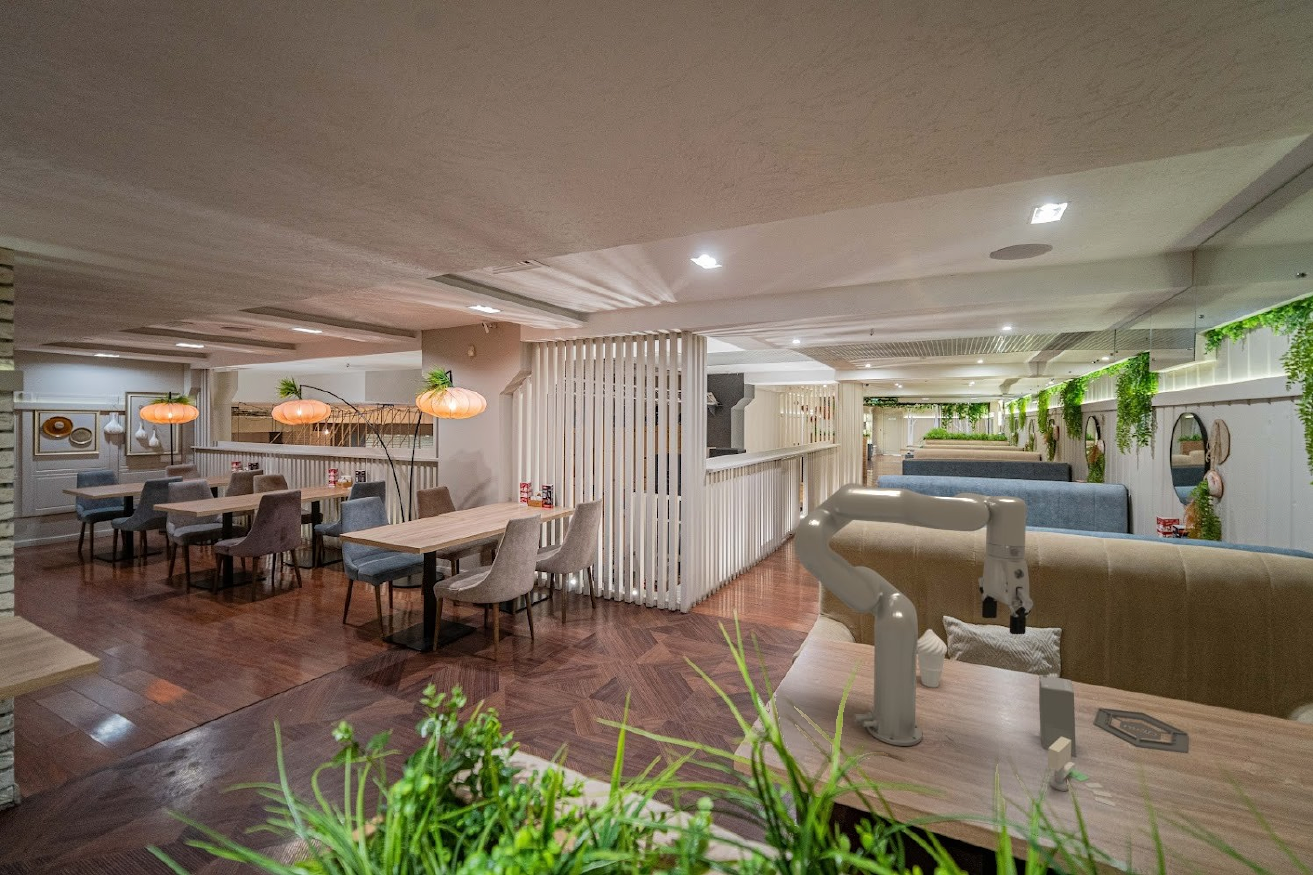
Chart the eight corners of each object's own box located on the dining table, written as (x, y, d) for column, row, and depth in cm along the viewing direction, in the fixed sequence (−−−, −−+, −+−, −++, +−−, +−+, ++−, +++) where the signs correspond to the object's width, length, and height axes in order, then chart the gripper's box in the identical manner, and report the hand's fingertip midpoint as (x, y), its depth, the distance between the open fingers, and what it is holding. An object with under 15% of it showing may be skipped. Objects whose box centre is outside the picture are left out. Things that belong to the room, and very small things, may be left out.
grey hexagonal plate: (1090, 733, 139) (1090, 730, 139) (1100, 703, 153) (1100, 700, 153) (1187, 764, 127) (1187, 760, 127) (1188, 728, 141) (1188, 725, 141)
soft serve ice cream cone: (951, 691, 159) (953, 635, 158) (922, 691, 159) (923, 635, 158) (937, 677, 167) (938, 624, 167) (909, 677, 167) (910, 624, 167)
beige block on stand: (1061, 796, 113) (1062, 753, 113) (1043, 788, 115) (1044, 746, 115) (1080, 776, 119) (1082, 735, 119) (1063, 768, 122) (1064, 728, 122)
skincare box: (1076, 763, 126) (1079, 694, 126) (1038, 752, 130) (1040, 685, 129) (1072, 744, 133) (1075, 679, 133) (1036, 735, 137) (1038, 671, 137)
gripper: (1049, 560, 119) (1046, 640, 119) (996, 542, 136) (994, 611, 137) (1014, 561, 118) (1012, 640, 119) (966, 542, 136) (964, 612, 136)
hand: (1002, 625), depth 128 cm, fingers open, 9 cm apart
